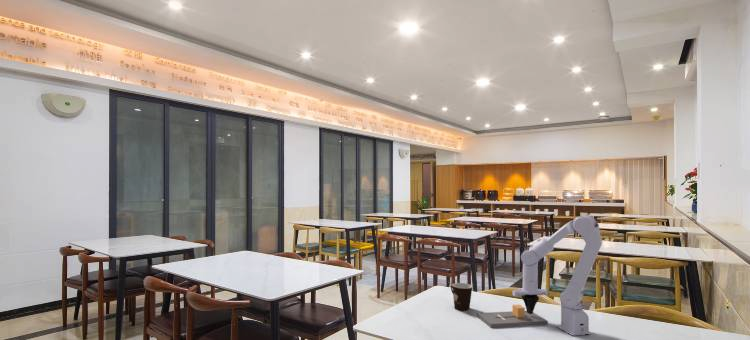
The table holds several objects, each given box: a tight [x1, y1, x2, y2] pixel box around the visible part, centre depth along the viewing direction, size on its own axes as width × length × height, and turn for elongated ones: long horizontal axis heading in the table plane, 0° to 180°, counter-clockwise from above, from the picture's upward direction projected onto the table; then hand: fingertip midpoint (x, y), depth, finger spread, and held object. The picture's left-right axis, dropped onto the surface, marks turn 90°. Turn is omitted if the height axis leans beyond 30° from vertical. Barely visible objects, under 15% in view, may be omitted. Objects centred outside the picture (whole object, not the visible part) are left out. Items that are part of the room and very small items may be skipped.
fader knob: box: [511, 304, 526, 318], centre depth 157 cm, size 4×3×4 cm
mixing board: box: [476, 310, 549, 329], centre depth 157 cm, size 12×24×2 cm, turn 100°
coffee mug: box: [450, 282, 473, 312], centre depth 172 cm, size 12×9×10 cm
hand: (529, 313), depth 158 cm, fingers closed
